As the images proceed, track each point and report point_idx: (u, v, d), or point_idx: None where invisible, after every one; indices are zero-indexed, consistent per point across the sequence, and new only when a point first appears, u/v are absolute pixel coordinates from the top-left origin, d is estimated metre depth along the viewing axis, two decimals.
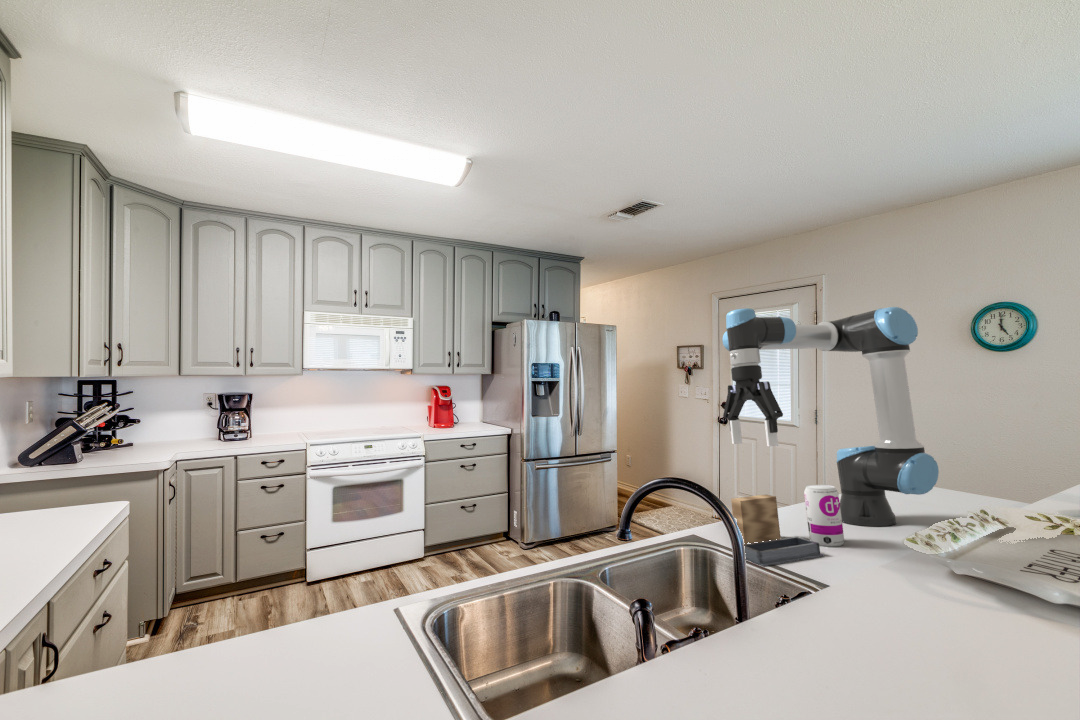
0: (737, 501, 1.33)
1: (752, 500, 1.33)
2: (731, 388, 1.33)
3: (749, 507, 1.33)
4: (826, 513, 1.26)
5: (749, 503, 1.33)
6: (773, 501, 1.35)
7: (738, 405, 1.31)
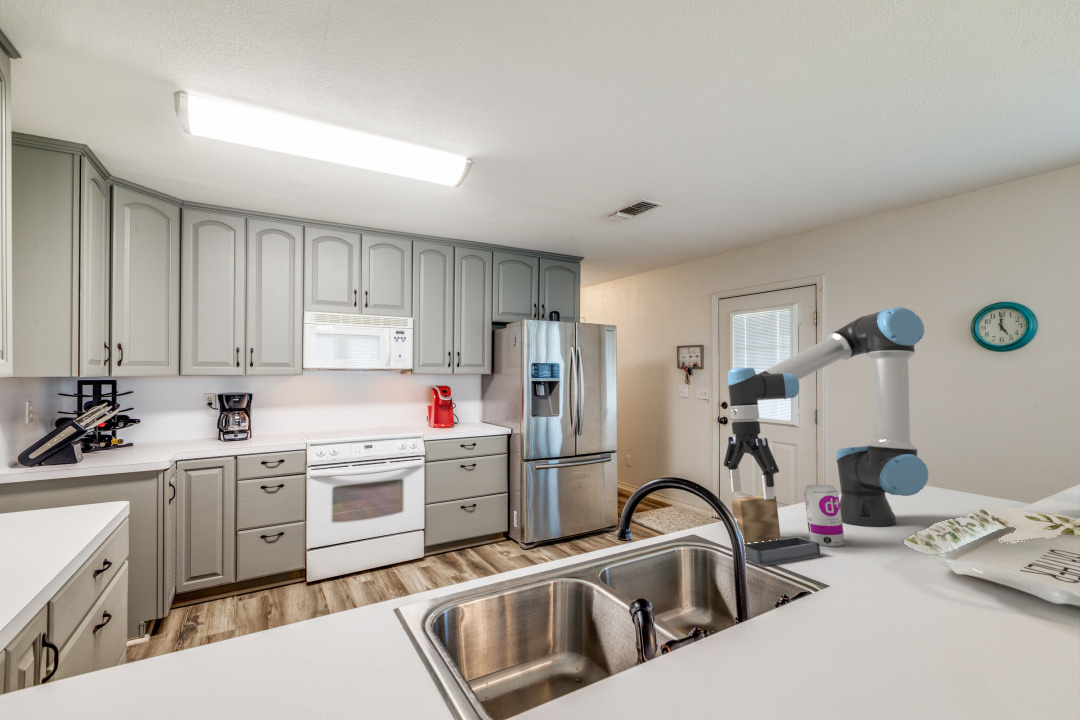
0: (737, 501, 1.34)
1: (752, 500, 1.33)
2: (731, 440, 1.43)
3: (749, 507, 1.33)
4: (826, 513, 1.26)
5: (749, 503, 1.33)
6: (773, 501, 1.35)
7: (738, 456, 1.41)
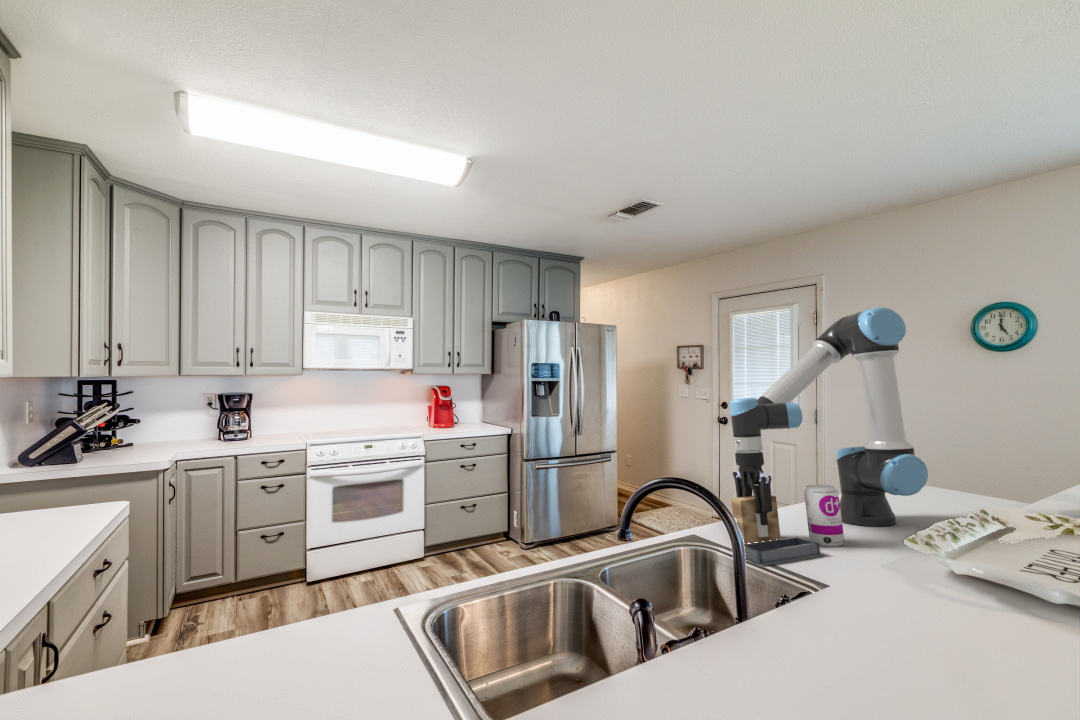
0: (737, 501, 1.33)
1: (752, 500, 1.33)
2: (736, 474, 1.41)
3: (749, 507, 1.33)
4: (827, 513, 1.26)
5: (749, 503, 1.33)
6: (773, 501, 1.35)
7: (747, 491, 1.38)
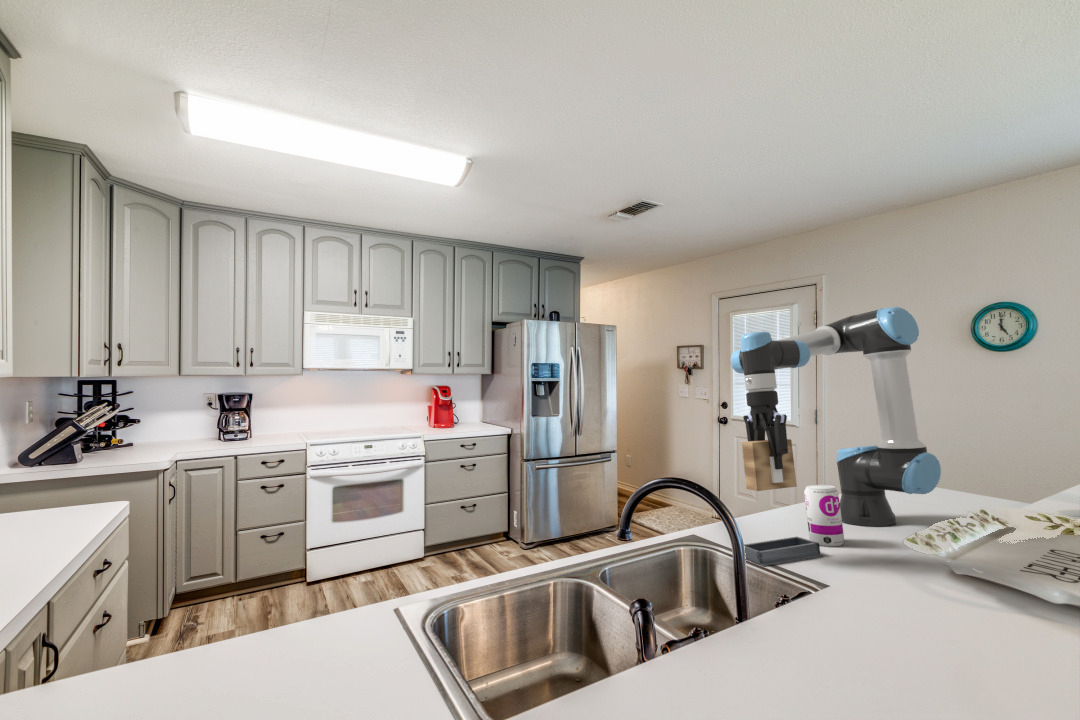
0: (748, 443, 1.21)
1: (765, 442, 1.21)
2: (747, 417, 1.29)
3: (761, 449, 1.20)
4: (827, 513, 1.26)
5: (762, 445, 1.20)
6: (788, 444, 1.23)
7: (760, 434, 1.25)
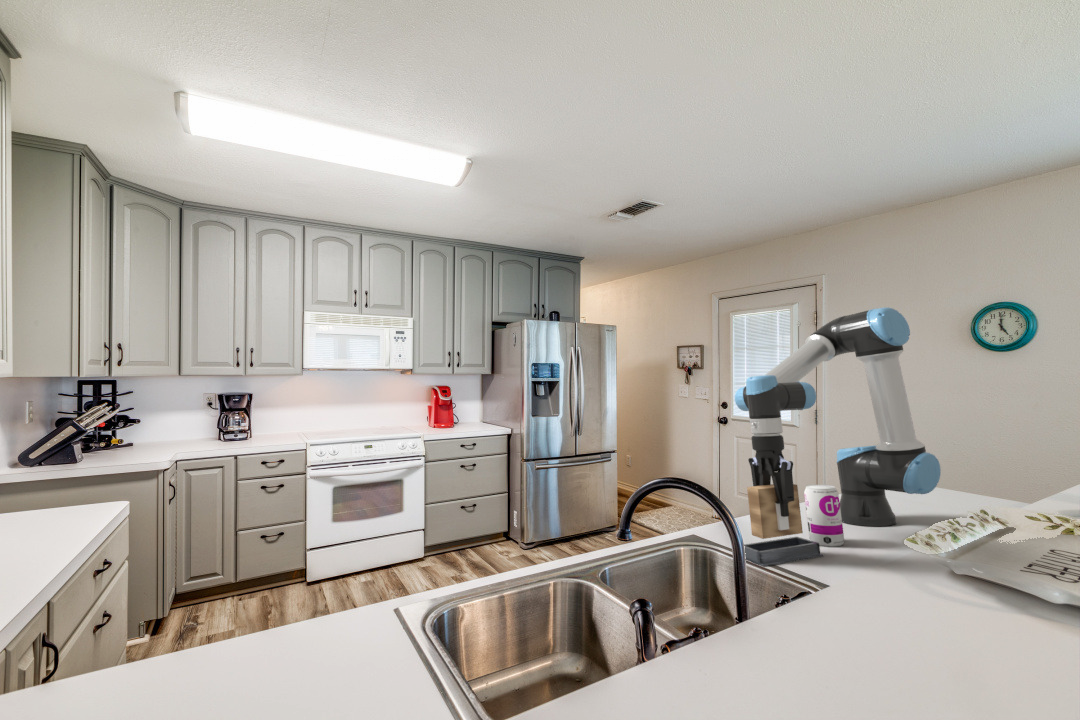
0: (754, 489, 1.19)
1: (771, 488, 1.19)
2: (752, 460, 1.27)
3: (767, 496, 1.19)
4: (827, 513, 1.26)
5: (768, 492, 1.19)
6: (794, 490, 1.21)
7: (765, 478, 1.23)
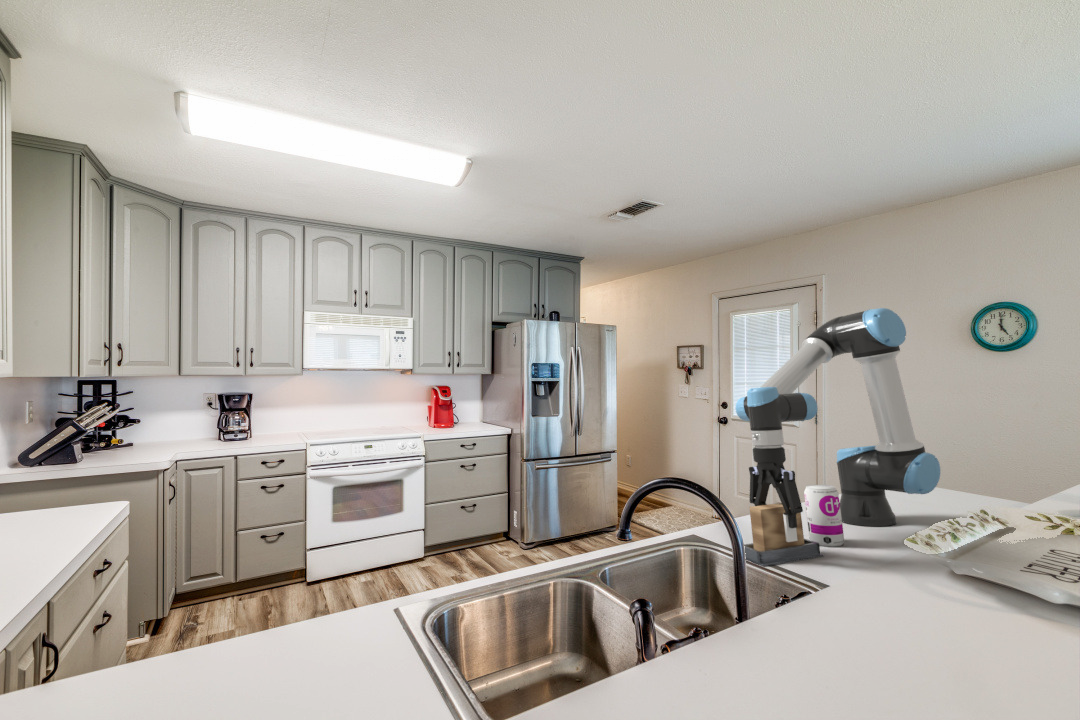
0: (756, 510, 1.19)
1: (773, 509, 1.19)
2: (753, 470, 1.27)
3: (770, 516, 1.18)
4: (827, 513, 1.26)
5: (771, 512, 1.18)
6: None
7: (763, 489, 1.24)
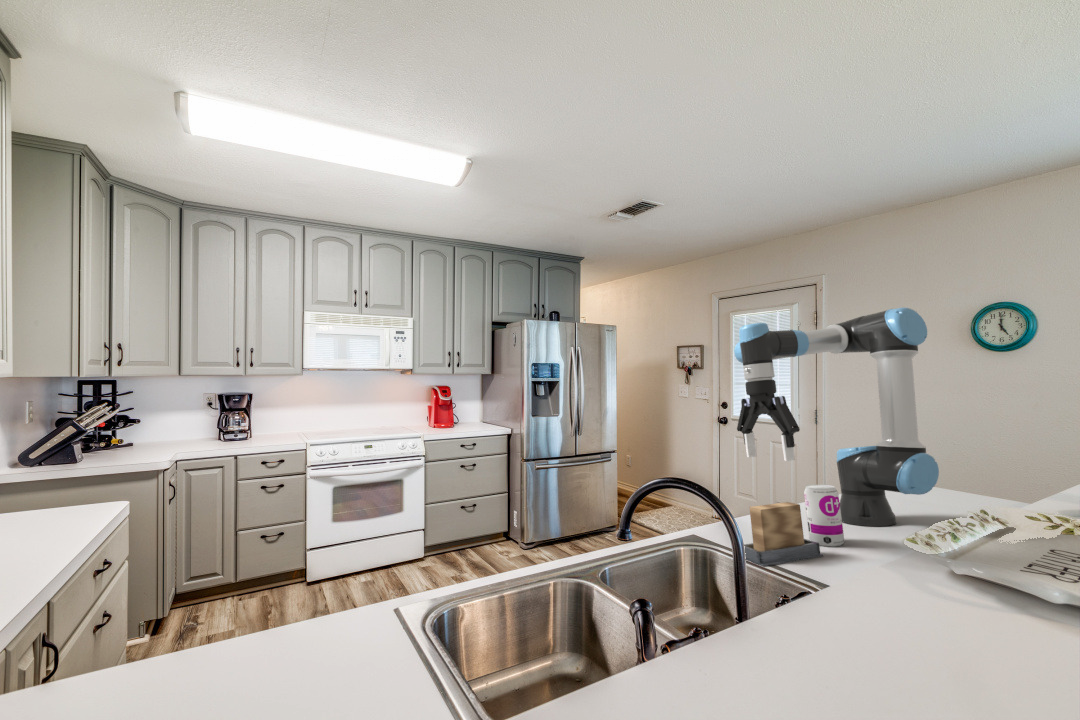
0: (756, 510, 1.19)
1: (773, 509, 1.19)
2: (745, 402, 1.34)
3: (770, 516, 1.18)
4: (826, 513, 1.26)
5: (771, 512, 1.18)
6: (797, 510, 1.20)
7: (752, 419, 1.32)
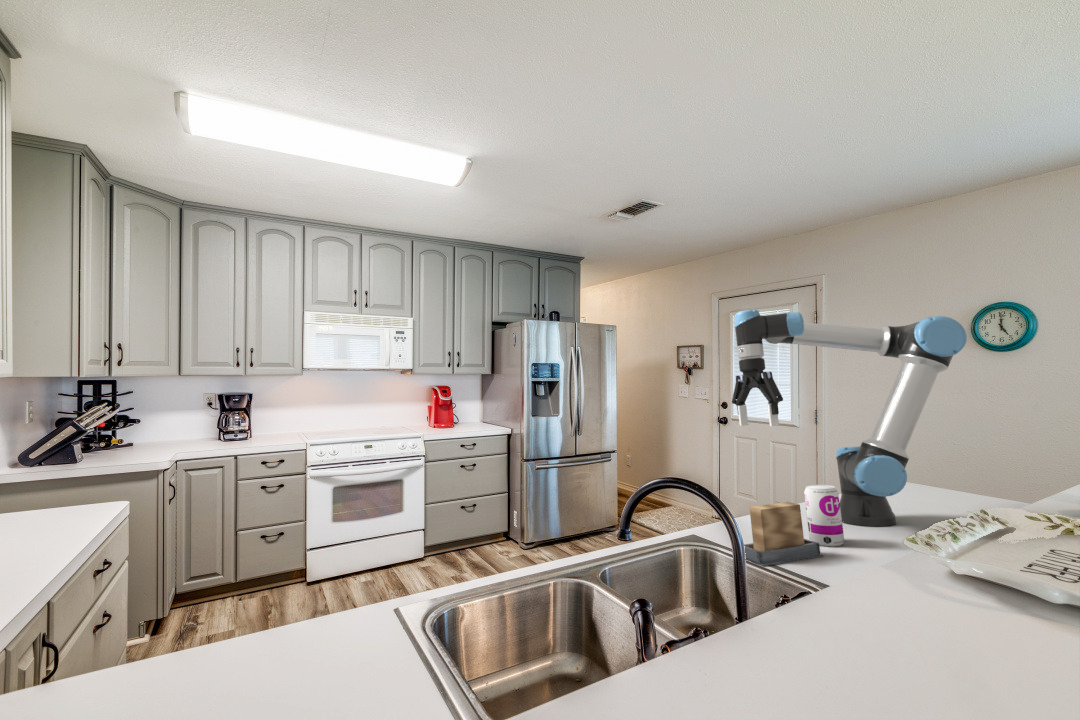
0: (756, 510, 1.19)
1: (773, 509, 1.19)
2: (739, 378, 1.56)
3: (770, 516, 1.18)
4: (827, 513, 1.26)
5: (771, 512, 1.18)
6: (797, 510, 1.20)
7: (745, 392, 1.54)
